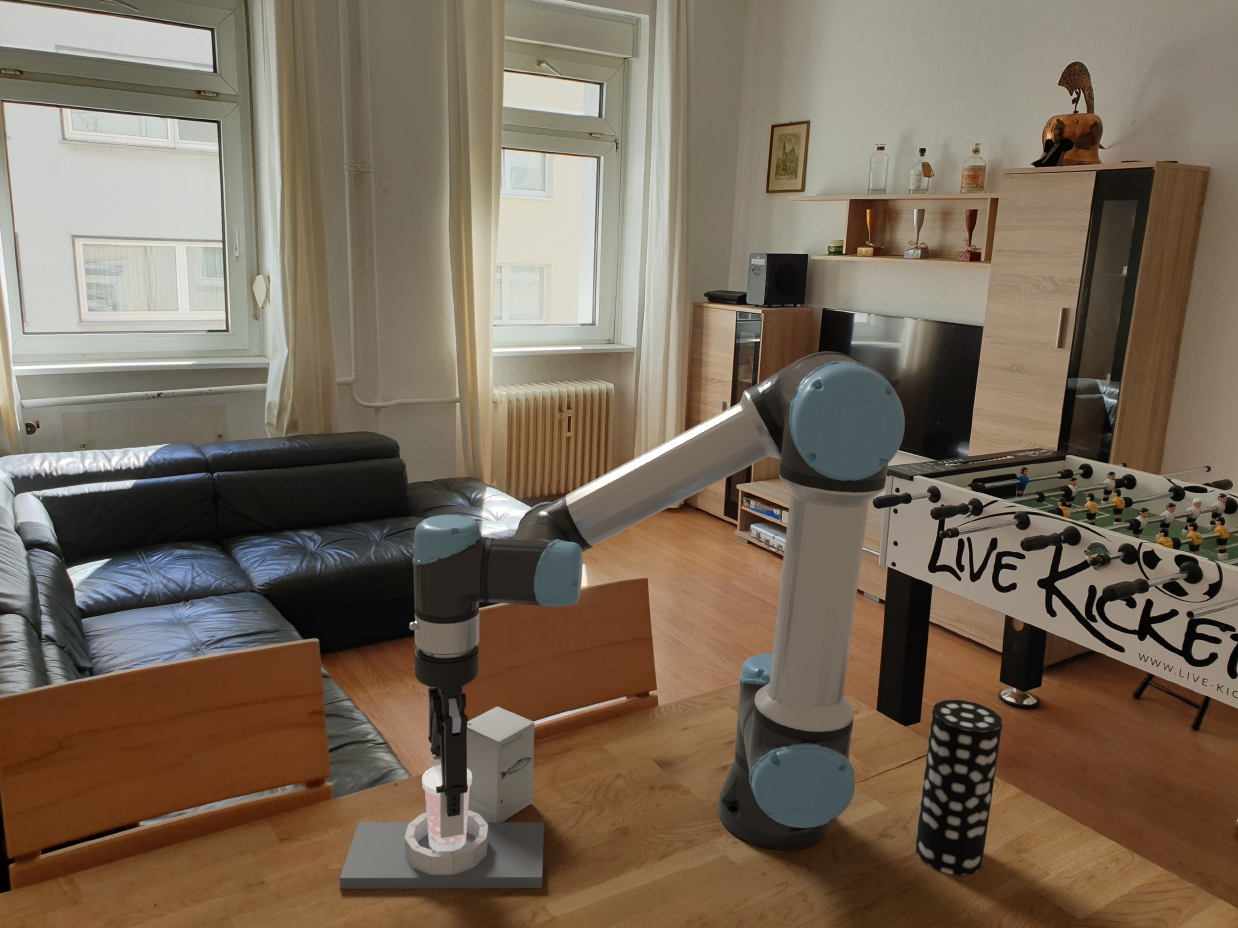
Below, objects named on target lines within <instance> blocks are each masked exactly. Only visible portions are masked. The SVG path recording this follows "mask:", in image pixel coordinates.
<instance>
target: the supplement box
mask: <svg viewBox="0 0 1238 928" xmlns="http://www.w3.org/2000/svg"><path fill="white" fill-rule="evenodd" d="M534 744H535V721H533V720H531V719H529V718H526V717H523V716H521V715H518V714H516V713H514V712H512V711H509V710H506V709H504V708H502V707H500V706H495V707H493V708H491V709H489V710H488V711H485V712H483V713H482V714H480V715H477V716H476V717H473V718H471V719H470V720H468V722H467V768H468V769H469V770H470V771H471V773H472V784H471V786H470V790H469V804H468V810H470V811H473V812H475V813H478V814H480V815H481V817H482V818H483V819H484V820H485V821H486V822H505V821H506V820H508V819H510V818H511V817H512V816H514V815H516V814H517V813H519V812H520V811H522V810H523V809H525V808H527V807H529V806H530V805H532V804H533V789H534V788H533V787H534V785H533V784H534V753H535V752H534V749H535V746H534Z"/></svg>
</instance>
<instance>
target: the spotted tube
mask: <svg viewBox="0 0 1238 928" xmlns="http://www.w3.org/2000/svg"><path fill="white" fill-rule="evenodd" d="M1003 723H1004V722H1003V719H1002V717H1001V716H1000V715H999V714H998V713H997V712H996V711H995V710H993V709H992V708H989V707H987V706H985V705H982V704H980V703H977V702H973V701H970V700H963V699H946V700H941V701H938V702H937V703H935V704H934V705H933V707H932V712H931V719H930V729H929V733H928V734H929V735H928V743H927V751H926V752H927V753H926V757H925V759H926V760H925V768H924V773H923V774H924V775H923V784H922V790H921V791H922V793H921V799H920V805H919V815H918V823H917V832H916V839H915V847H914V849H915V852H916V854H917V856H918V858H919V859H920V860H921V861H922V862H924V863H925V864H926V865H927V866H929V867H930V868H932V869H934V870H937V871H939V872H941V873H944V874H948V875H955V876H969V875H973V874H975V873H976V872H979V870H981V868H982V867H983V861H984V854H985V846H986V838H987V833H988V825H989V820H990V819H989V818H990V811H991V805H992V798H993V791H994V790H993V789H994V785H995V777H996V771H997V765H998V764H997V763H998V755H999V750H1000V742H1001V734H1002V729H1003V728H1002V727H1003Z"/></svg>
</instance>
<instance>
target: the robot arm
mask: <svg viewBox="0 0 1238 928" xmlns="http://www.w3.org/2000/svg"><path fill="white" fill-rule="evenodd" d="M905 418H906V417H905V413H904V407H903V405H902V401H901V399H900V397H899V395H898V394H897V392H896V390H895V389H894V387H893V386H892V385H891V383H890V381H889V380H888V379H887V378H886V377H885V376H884V375H883V374H882V373H880V372H879V371H877V370H876V369H875V368H873V367H871V366H869V365H867V364H865V363H862V362H860V361H858V360H857V359H856V358H854V357H851V356H850V355H848V354H845V353H841V352H837V351H826V350H825V351H819V352H814V353H811V354H810V353H809V354H808V355H805V356H803V357H801V358H798V359H797V360H795V361H794V362H791V363H790V364H789V365H786V366H784V368H781V369H780V370H778V371H777V372H774V373H773V374H772V375H770V376H768V377H767V378H765V379H763V380H762V381H760V382H759V383H756V384H754V385H753V386H750V387H749V388H747V389H746V390H744V391H743V392H742V396H741V399H740V401H739V402H738V403H736V404H734V405H733V406H731V407H729V408H727V409H725V410H723V411H721V412H719V413H718V414H716V415H714V416H712V417H710V418H708V419H706V420H704V421H703V422H701V423H699V424H696V425H695V426H693V427H691V428H689V429H688V430H685V431H684V432H682V433H680V434H678V435H676V436H675V437H672V438H670V439H669V440H667V441H665V442H663V443H661V444H659V445H658V446H655V447H653V448H652V449H650V450H648V451H646V452H644V453H643V454H640V455H639V456H637V457H634V459H631V460H629V461H627V462H625V463H623V464H622V465H620V466H618V467H616V468H615V469H612V470H610V471H607V473H605V474H603V475H601V476H599V477H598V478H595V479H593V480H592V481H589V482H588V483H586V484H584V485H582V486H580V487H579V488H576V489H574V490H573V491H571V492H569V493H567V494H566V495H565V496H563V497H560V498H557V499H555V500H554V501H543V502H540V503H537V504H536V505H533V506H532V507H531V508H530V509H529V510H527V512H525V513H524V515H523V516H522V517H521V519H520V520H519V521H518V525H517V528H516V530H515V533H514V535H513V537H512V538H496V537H489V536H482V532H481V531H480V524H479V523H478V521H477V520H476V519H474V518H472V517H470V516H462V515H460V514H441V515H435V516H430V517H428V518H425V519H423V520H421V521H420V522H419V524H417V525H416V527H415V530H414V540H413V541H414V542H413V543H414V545H413V558H412V560H411V562H412V563H413V564H412V567H413V593H414V594H413V596H414V619H415V621H412V622H410V623H409V624H408V625H409V628H408V629H410V630H411V631H414V645H415V646H416V647H415V648H414V676H415V679H416V680H417V681H418V682H419V683H420V684H422V685H424V686H426V687H428V688H427V694H428V695H427V696H428V737H427V739H428V742H429V743H430V744H431V746H430V753H431V755H432V756H431V768H432V767H434V766H437V765H441V770H442V785H441V786H438V787H436V792H437V793H440V836H441V838H446V837H452V836H457V835H463V834H464V793H467V789H468V785H467V722H468V721H469V718H468V715H467V714H466V712H465V711H466V710H465V709H466V707H467V695H466V693H465V692H463V687H464V686H466V685H467V684H470V683H471V682H473V681H474V680H475V679H476V678H477V677H478V674H479V669H480V668H479V667H480V666H479V665H480V664H479V663H480V662H479V658H480V657H479V656H480V653H479V652H480V650H479V648H480V647H479V645H478V644H479V643H480V603H490V604H492V603H494V604H495V603H496V604H510V605H511V604H512V605H524V606H525V605H526V606H540V607H543V608H551V607H570V606H574V605H575V604H577V603H578V601H579V600H580V597H581V589H582V581H583V580H582V579H583V553H584V552H586V551H587V550H590V549H592V548H594V546H597V545H599V544H600V543H602V542H603V543H604V541H606V540H608V539H610V538H612V537H614V536H616V535H618V534H620V533H622V532H624V531H626V530H628V529H630V528H632V527H634V526H636V525H638V524H639V523H641V522H643V521H645V520H647V519H649V518H651V517H652V516H655V515H657V514H659V513H661V512H663V511H665V510H666V509H669V508H670V507H672V506H674V505H676V504H678V503H680V502H681V501H684V500H686V499H688V498H690V497H692V496H694V495H695V494H697V493H699V492H701V491H703V490H706V489H707V488H710V487H711V486H713V485H714V484H715V485H716V483H719V482H721V481H723V480H725V479H727V478H729V477H730V476H732V475H735V474H737V473H739V472H740V471H742V470H744V469H746V468H748V467H750V466H752V465H754V464H756V463H758V462H759V461H761V460H764V459H765V458H767V457H769V458H770V457H771V458H773V459H777V460H780V463H779V473H778V477H779V479H780V480H781V482H782V483H783V484H784V485H785V487H787V489H788V491H789V492H790V498H789V507H788V513H787V514H788V515H787V522H786V523H787V524H786V531H785V532H786V533H785V541H784V542H785V543H784V550H783V559H782V567H781V576H780V577H781V579H780V587H779V596H778V604H777V611H776V613H777V614H776V622H775V630H774V640H773V647H772V648H773V650H772V652H770V653H769V652H768V653H760V654H756V655H753V656H750V657H748V658H747V659H746V660H744V662H743V663H742V665H741V670H740V671H741V672H740V677H738V683H739V697H738V708H737V721H736V723H737V724H736V734H735V735H736V736H735V748H734V749H735V751H734V760H733V761H732V764H731V766H730V768H729V770H728V773H727V775H726V777H725V779H724V782H723V784H722V786H721V788H720V791H719V794H718V803H717V804H718V806H717V812H718V813H717V814H718V817H719V819H720V821H721V823H722V824H723V825H724V827H725V828H726V829H727V830H728V831H729V832H731V833H732V834H733V835H734V836H737V838H740V839H741V840H743V841H745V842H747V843H750V844H752V845H755V846H758V847H763V848H767V849H773V850H796V849H802V848H806V847H809V846H811V845H813V844H816V843H817V842H819V841H821V840H822V839H823V838H824V837H825V836H826V834H827V833H828V831H829V825H830V821H831V820H833V819H835V818H838V817H839V816H841V815H842V814H843V813H844V812H845V811H846V810H847V808H848V807H849V806H850V804H851V802H852V801H853V797H854V795H855V788H856V786H855V785H856V783H855V781H856V780H855V779H856V778H855V770H854V767H853V765H852V763H851V762H850V748H851V741H852V735H853V725H854V717H855V709H854V707H853V705H852V704H851V703H850V702H849V700H848V699H847V698H846V697H845V696H844V693H845V692H844V691H845V684H846V675H847V670H848V659H849V652H850V646H851V639H852V630H853V623H854V617H855V609H856V608H855V607H856V600H857V594H858V593H857V592H858V584H859V578H860V571H861V563H862V555H863V548H864V540H865V533H866V532H865V531H866V525H867V519H868V518H867V516H868V509H869V504H870V501H871V500H873V499H874V498H876V496H878V495H879V494H881V493H882V492H884V491H885V489H886V482H887V481H886V480H887V476H888V475H887V474H888V469H889V463H890V462H891V461H892V460H893V458H895V457H896V454H897V453H898V451H899V449H900V447H901V445H902V442H903V438H904V436H905V426H906V424H905V423H906V422H905V421H906V420H905ZM433 755H434V756H433Z"/></svg>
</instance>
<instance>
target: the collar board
mask: <svg viewBox="0 0 1238 928" xmlns="http://www.w3.org/2000/svg"><path fill="white" fill-rule="evenodd" d="M544 831H545V822H543V821H542V822H536V821H535V822H524V821H523V822H505V821H504V822H486V821H485V820H484V819H483V818H482V817H481V815H480V814H478V813H475V812H473V811H470V810H468V818H467V833H466V842H465V844H464V846H463V847H462V848H460V849H457V850H454V851H435V850H432V848H431V847H430V846H429V837H428V824H427V812H423V813H421V814H419V815H418V816H417V817H415V819H413V820H412V821H411V822H358V824H357V826H356V829H355V832H354V836H353V838H352V841H351V844H350V847H349V850H348V853H347V856H346V858H345V861H344V863H343V866H342V870H341V872H340V875H339V890H384V889H385V890H391V889H393V890H394V889H396V890H398V889H401V890H402V889H403V890H404V889H405V890H407V889H408V890H409V889H413V890H414V889H415V890H416V889H420V890H421V889H423V890H424V889H543V872H544V871H543V869H544V868H543V866H544V864H543V863H544V835H545V834H544V833H545V832H544Z"/></svg>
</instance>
